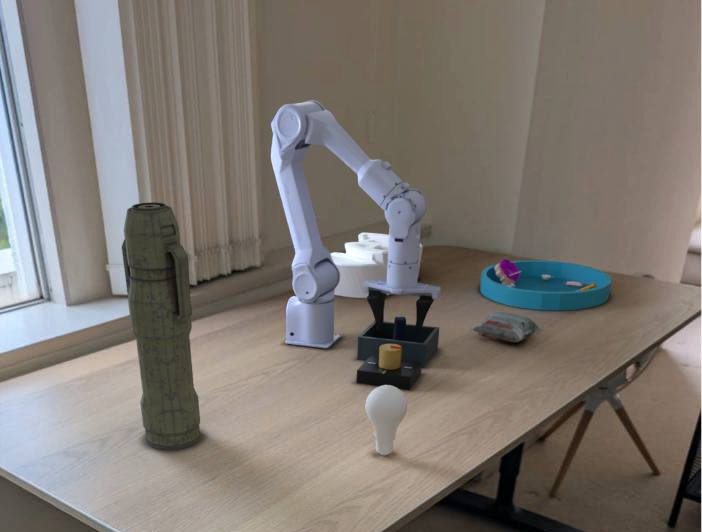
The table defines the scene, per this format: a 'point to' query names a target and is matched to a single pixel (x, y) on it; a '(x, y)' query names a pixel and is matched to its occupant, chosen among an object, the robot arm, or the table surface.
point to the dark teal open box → (399, 342)
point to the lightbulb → (385, 415)
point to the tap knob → (390, 356)
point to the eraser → (399, 328)
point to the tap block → (389, 374)
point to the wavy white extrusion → (363, 263)
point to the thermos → (161, 324)
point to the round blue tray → (545, 285)
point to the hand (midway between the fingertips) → (398, 332)
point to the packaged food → (506, 327)
